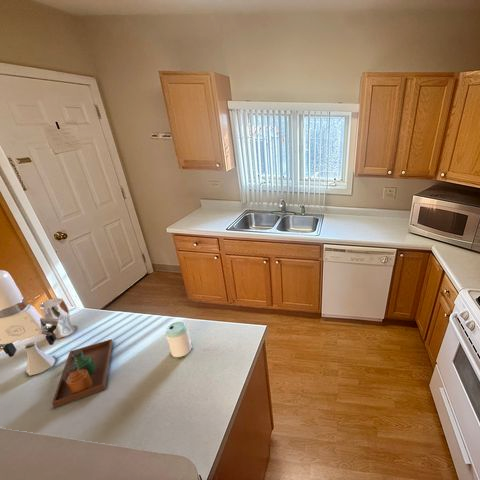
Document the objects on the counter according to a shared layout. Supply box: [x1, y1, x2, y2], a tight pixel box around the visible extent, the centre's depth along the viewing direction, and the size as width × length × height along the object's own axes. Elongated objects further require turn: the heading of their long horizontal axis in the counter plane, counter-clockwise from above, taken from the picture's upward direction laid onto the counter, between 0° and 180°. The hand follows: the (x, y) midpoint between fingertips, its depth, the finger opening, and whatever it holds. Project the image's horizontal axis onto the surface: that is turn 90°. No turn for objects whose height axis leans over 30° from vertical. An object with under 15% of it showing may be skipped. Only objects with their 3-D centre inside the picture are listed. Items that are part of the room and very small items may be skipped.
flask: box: [22, 341, 56, 376], centre depth 87 cm, size 7×7×10 cm
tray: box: [51, 339, 114, 408], centre depth 88 cm, size 22×12×2 cm, turn 31°
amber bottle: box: [66, 364, 93, 394], centre depth 81 cm, size 5×5×9 cm
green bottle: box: [71, 348, 96, 375], centre depth 86 cm, size 5×5×9 cm
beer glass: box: [38, 297, 76, 339], centre depth 101 cm, size 7×7×15 cm
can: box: [165, 321, 193, 358], centre depth 96 cm, size 7×7×12 cm
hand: (33, 347), depth 86 cm, fingers open, 9 cm apart
